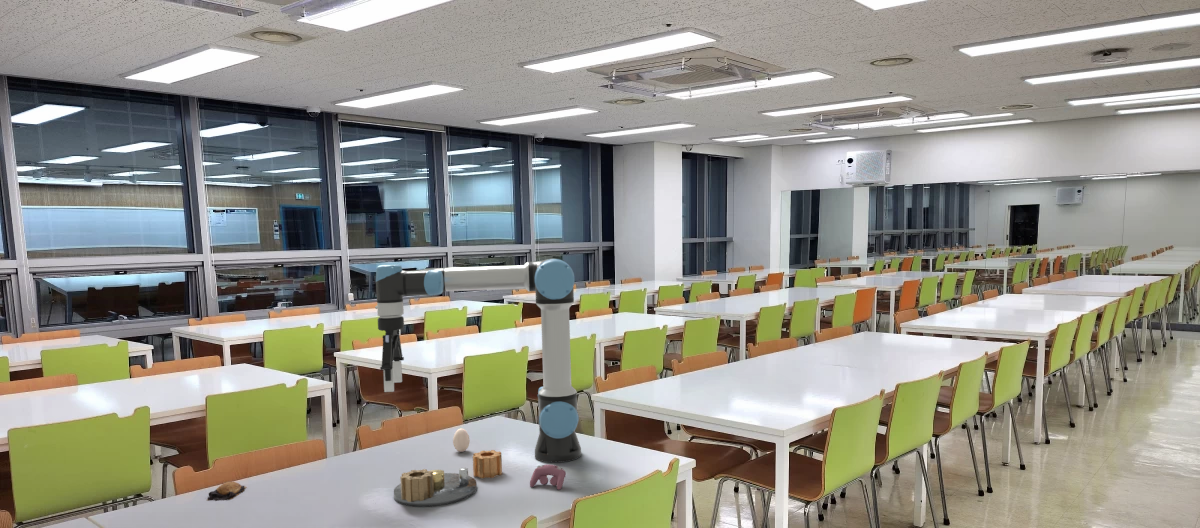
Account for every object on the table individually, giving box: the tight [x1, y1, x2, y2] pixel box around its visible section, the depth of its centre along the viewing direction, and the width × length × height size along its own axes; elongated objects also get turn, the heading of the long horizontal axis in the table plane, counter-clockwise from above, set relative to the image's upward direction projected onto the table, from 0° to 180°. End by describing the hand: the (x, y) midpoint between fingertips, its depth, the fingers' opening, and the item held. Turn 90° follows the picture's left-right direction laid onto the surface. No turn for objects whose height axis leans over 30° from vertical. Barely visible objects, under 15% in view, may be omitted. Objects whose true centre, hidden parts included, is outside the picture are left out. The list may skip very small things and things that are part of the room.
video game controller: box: [529, 464, 567, 491], centre depth 209 cm, size 10×5×7 cm, turn 71°
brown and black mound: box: [206, 481, 248, 501], centre depth 211 cm, size 11×8×4 cm
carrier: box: [393, 467, 478, 508], centre depth 207 cm, size 23×23×8 cm
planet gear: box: [472, 449, 503, 479], centre depth 221 cm, size 8×8×6 cm
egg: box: [452, 428, 471, 453], centre depth 245 cm, size 6×6×8 cm
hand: (393, 386), depth 218 cm, fingers open, 13 cm apart
